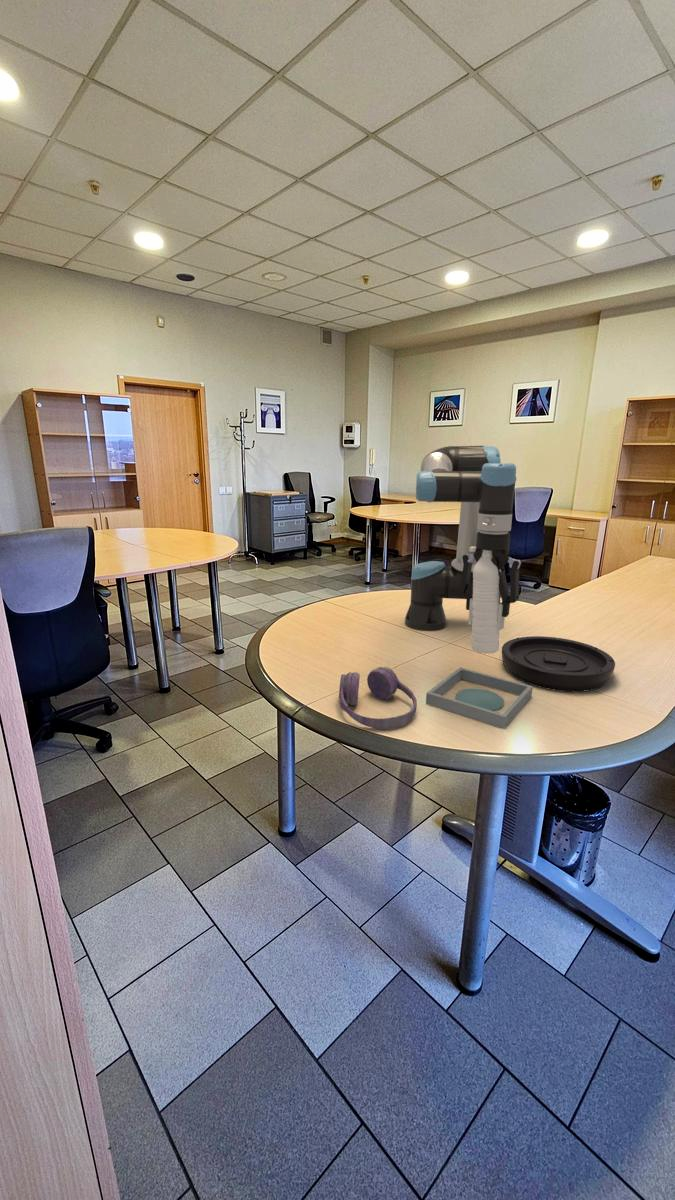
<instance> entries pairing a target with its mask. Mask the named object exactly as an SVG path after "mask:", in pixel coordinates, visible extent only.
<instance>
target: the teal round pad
mask: <svg viewBox="0 0 675 1200" xmlns="http://www.w3.org/2000/svg"><path fill="white" fill-rule="evenodd" d="M454 697H455V700H458V701H461V702H465V703H468V704H471V705H474V706H478V707H481V708H484V709H488V710H491V711H494V712H496V711H499V710H501V709H502V708H503V707H505V700H504V698H503V697H502V696H501V695H499V694H498V693H496V692H494V691H490V690H488V689H481V688H465V689H461V690H460V691H458V692H457V693H456V694H455V696H454Z"/></svg>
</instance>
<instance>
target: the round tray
mask: <svg viewBox="0 0 675 1200" xmlns="http://www.w3.org/2000/svg"><path fill="white" fill-rule="evenodd" d="M501 656H502V663H503V664H504V667H505V669H506V670H507V672H509V673H510V674H511V675H512V676H513V677H515V678H516V677H517V679H518V680H520V681H522V682H524V683H527V684H529V683H530V684H529V685H532V684H533V685H532V686H535V685H536V686H537V687H539V686H540V688H544V689H547V688H549V689H548V690H552V689H555V690H554V691H559V690H564V691H563V692H573V691H577V692H585V691H584V690H589V691H592V690H591V689H594V690H597V689H600V688H601V687H603V686H604V685H606V684H607V683H608V682H609V680H610V679H611V678H612V676H613V673H614V671H615V668H616V667H615V666H616V661H615V660H614V658H613V657H612V656H611V655H610V654H609V653H608V652H605V651H604V650H602V649H600V648H598V647H596V646H593V645H591V644H589V643H588V644H587V643H585V642H581V641H577V640H573V639H568V638H562V637H555V636H543V635H542V636H538V635H537V636H536V635H533V636H532V635H531V636H522V637H516V638H512V639H509V640H507V641H506V642H504V643H503V645H502V646H501ZM599 687H600V688H599ZM596 688H597V689H596Z"/></svg>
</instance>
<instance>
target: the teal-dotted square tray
mask: <svg viewBox="0 0 675 1200" xmlns="http://www.w3.org/2000/svg"><path fill="white" fill-rule="evenodd" d="M461 680H463V681H466V682H470V683H474V684H478V685H481V686H484V687H488V688H491V689H495V690H498V691H503V692H505V693H510V694H513V695H516V694H517V698H516V699H515V700H514V701H513V702H512V703H511V704H510V705H509V706H508V707H507V709H506V710H505V711H504V712H503V713H501V712H496V711H491V710H488V709H484V708H481V707H478V706H474V705H471V704H468V703H465V702H461V701H458V700H456V698H455V699H454V698H451V697H448V696H445V695H444V694H445V693H446V692H447V691H449V690H450V689H452V688H453V686H455V685H456V684H457V683H458V682H460V681H461ZM533 686H534V685H530V684H526V683H525V684H524V683H522V682H518V681H513V680H510V679H507V678H502V677H498V676H495V675H490V674H486V673H483V672H479V671H476V670H471V669H468V668H463V667H459V668H457V669H456V670H454V671H453V672H452V673H451V674H449V676H448V675H447V676H446V677H445V679H443V680H442V681H440V682H439V683H438V684H436V685H435V686H434V687H432V688H431V689H430V690H428V691H427V692H426V693H425V694H426V697H425V704H426V705H429V706H431V707H435V708H438V709H441V710H444V711H448V712H451V713H453V714H456V715H460V716H463V717H466V718H469V719H472V720H476V721H479V722H481V723H485V724H488V725H491V726H494V727H497V728H499V729H506V727H507V726H508V725H509V724H510V723H511V721H513V719H514V718H515V717H516V716H517V714H519V712H520V711H521V710H522V709H523V707H525V705H526V704H527V703H528V702H529V701H530V699H532V696H533Z"/></svg>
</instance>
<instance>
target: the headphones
mask: <svg viewBox="0 0 675 1200" xmlns="http://www.w3.org/2000/svg"><path fill="white" fill-rule="evenodd" d="M366 681H367V686H368V687H367V688H369V691H370V692H371V694H372V695H373V696H375V697H376V698H377V699H380V700H387V699H388V700H389V698H392V697H393V695H394V694H395V693H396V692H397V690H399V691H402V693H404V694H405V695H406V696H407V697H408V698H409V699H411V701H412V707H411V709H410V710H409V711H408V712H406V713H404V714H400V715H397V716H391V717H386V718H375V717H368V716H363V715H361V714H359V713H356V712H355V711H353V710H352V709H350V708H349V705H351V706H356V705H357V704H358V699H359V697H358V696H359V688H360V673H359V672H357V671H356V672H351V671H350V672H348V673H347V674H341V675H340V682H339V688H338V689H339V692H338V699H339V700H340V704H341V707H342V709H343V710H344V712H345V713H346V714H347V715H348V716H349V717H350V718H351V719H353V720H354V721H355V722H357V723H359V724H361V725H363V726H364V727H365V726H366V727H369V728H370V729H374V730H381V731H388V730H394V729H398V728H402V727H404V726H406V725H407V724H409V723H410V722H411V721H412V720H413V719H414V717H415V715H416V712H417V705H418V700H417V697H416V695H414V692H413V691H412V690H411V689H410V688H409V686H407V685H405V684H404V683H402V682H401V681H400V680H399V678H398V676H397V674H396V673H395V671H394V670H393V669H392V668H389V667H388V666H386V667H385V666H384V667H383V666H378V667H376V668H374V669H371V671H370V672H369V673H368V675H367V680H366Z"/></svg>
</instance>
